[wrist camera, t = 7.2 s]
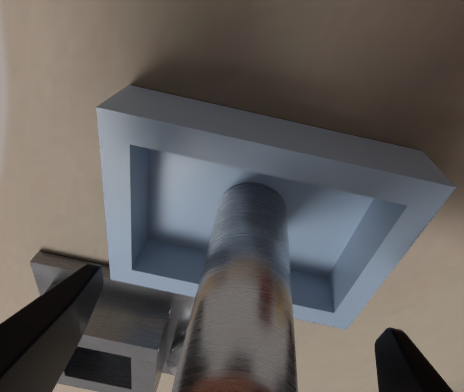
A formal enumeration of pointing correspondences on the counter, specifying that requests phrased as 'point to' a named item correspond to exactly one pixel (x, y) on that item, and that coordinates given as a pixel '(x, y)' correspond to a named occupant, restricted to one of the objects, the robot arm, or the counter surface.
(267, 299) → the lock pin
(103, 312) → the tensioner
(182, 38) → the counter surface
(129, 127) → the tray
